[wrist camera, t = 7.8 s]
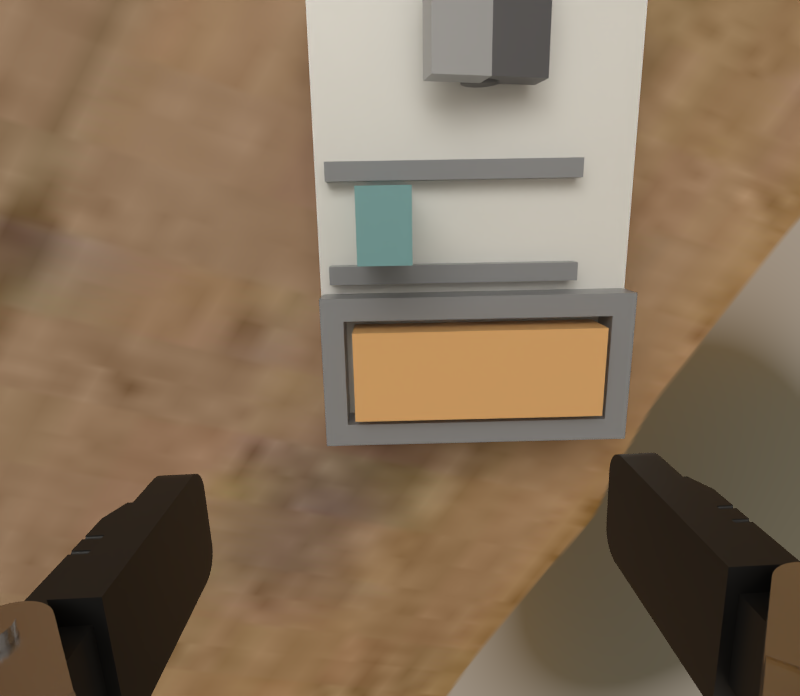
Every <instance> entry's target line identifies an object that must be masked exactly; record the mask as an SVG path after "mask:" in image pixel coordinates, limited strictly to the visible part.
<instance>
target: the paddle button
mask: <svg viewBox="0 0 800 696" xmlns="http://www.w3.org/2000/svg"><path fill="white" fill-rule="evenodd" d="M608 331H609V328H607V327H606V326H604V325H602V324H600V323H598V322H596V321H594V320H592V319H585V320H538V321H492V322H446V323H399V324H355V325H354V329H353V332H352V347H353V372H354V397H355V422H371V421H412V420H453V419H494V418H536V417H577V416H602V410H603V397H604V384H605V371H606V358H607V345H608Z"/></svg>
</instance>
